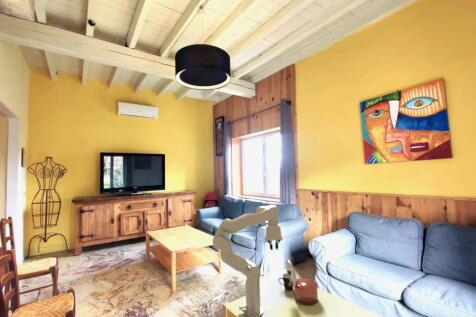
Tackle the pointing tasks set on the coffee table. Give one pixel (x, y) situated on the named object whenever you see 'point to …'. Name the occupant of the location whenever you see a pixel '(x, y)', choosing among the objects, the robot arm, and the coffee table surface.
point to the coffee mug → (286, 282)
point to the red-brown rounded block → (306, 291)
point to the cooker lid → (291, 272)
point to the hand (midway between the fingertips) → (274, 249)
